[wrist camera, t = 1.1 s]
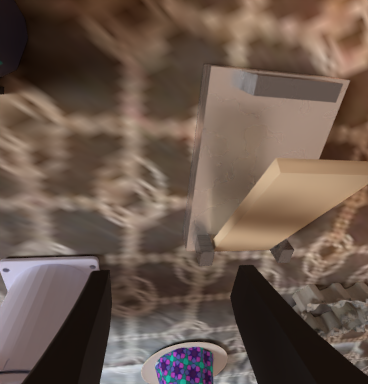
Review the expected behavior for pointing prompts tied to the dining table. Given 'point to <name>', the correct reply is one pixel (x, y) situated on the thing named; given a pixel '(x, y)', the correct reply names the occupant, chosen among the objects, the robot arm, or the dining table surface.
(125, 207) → the dining table surface
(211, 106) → the block
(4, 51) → the speaker
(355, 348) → the dining table surface
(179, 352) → the purple beige domed disc
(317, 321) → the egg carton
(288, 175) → the latch bar
